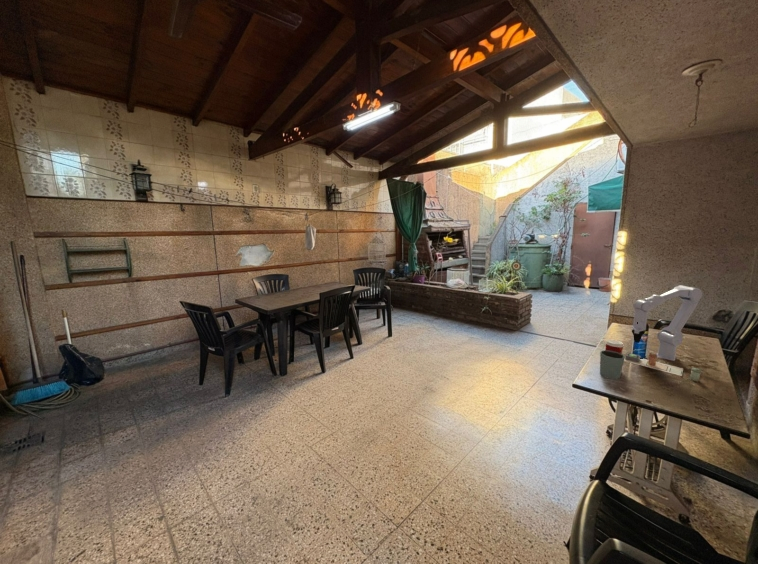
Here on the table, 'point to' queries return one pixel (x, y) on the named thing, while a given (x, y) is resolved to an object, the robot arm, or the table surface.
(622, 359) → the green round bin
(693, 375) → the sage marker
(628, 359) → the button housing
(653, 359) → the brown rounded cylinder
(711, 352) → the table surface
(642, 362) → the white flat panel
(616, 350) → the coffee cup
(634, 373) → the table surface
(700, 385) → the table surface
